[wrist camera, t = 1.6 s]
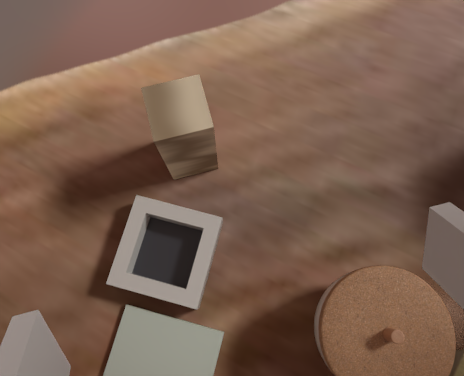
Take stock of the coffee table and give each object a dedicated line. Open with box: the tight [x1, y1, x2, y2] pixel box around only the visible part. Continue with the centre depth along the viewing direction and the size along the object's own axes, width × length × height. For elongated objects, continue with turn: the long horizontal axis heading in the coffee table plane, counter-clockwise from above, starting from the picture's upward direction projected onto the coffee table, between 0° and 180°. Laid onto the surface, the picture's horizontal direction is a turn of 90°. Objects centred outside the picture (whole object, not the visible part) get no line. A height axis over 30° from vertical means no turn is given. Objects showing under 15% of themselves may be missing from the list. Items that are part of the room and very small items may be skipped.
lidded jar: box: [314, 266, 456, 376], centre depth 33 cm, size 11×11×9 cm
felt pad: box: [103, 304, 224, 376], centre depth 36 cm, size 10×10×1 cm
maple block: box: [141, 75, 218, 180], centre depth 36 cm, size 5×5×11 cm
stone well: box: [106, 195, 223, 309], centre depth 38 cm, size 9×9×2 cm
